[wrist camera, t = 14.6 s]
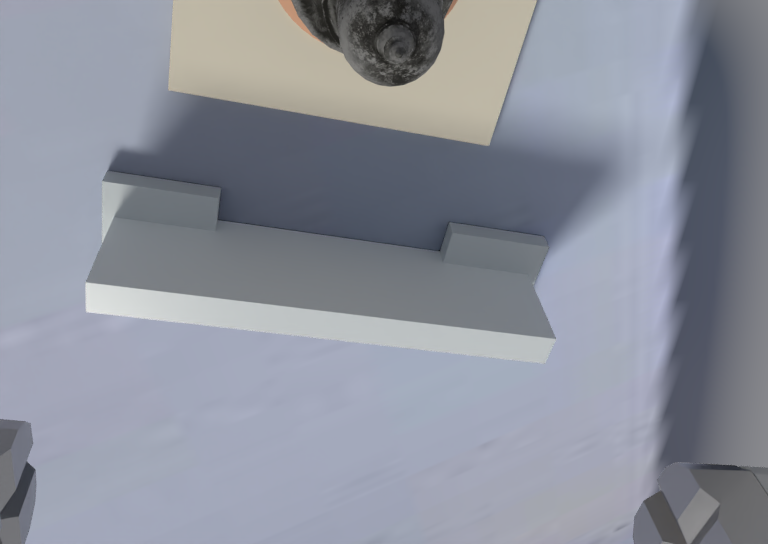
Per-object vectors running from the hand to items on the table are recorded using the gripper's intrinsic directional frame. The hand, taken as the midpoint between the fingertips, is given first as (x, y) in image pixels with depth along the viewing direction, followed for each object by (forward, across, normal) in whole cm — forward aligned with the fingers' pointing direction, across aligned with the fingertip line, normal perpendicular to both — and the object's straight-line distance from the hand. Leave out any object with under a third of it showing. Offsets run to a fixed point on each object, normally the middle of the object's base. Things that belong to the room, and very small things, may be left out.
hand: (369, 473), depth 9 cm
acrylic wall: (+24, +2, -12) cm, 27 cm away
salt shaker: (+23, +2, +2) cm, 23 cm away
